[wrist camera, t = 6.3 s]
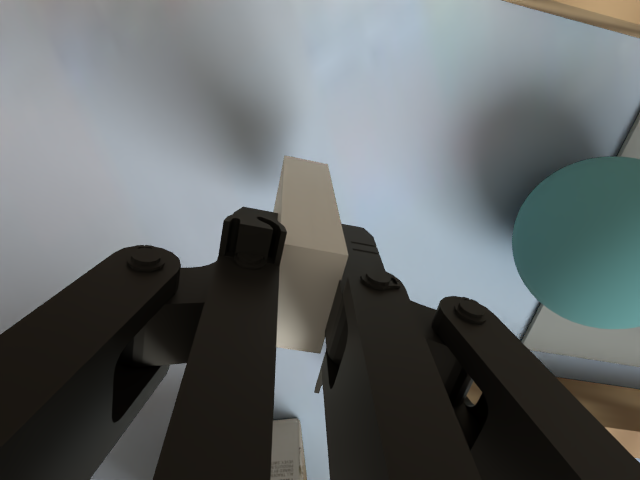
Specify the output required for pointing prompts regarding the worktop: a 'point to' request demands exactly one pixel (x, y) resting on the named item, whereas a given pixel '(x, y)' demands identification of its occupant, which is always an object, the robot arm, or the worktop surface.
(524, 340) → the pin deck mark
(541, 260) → the ball
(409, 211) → the worktop surface
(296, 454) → the coffee box
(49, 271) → the worktop surface
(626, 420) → the lane
